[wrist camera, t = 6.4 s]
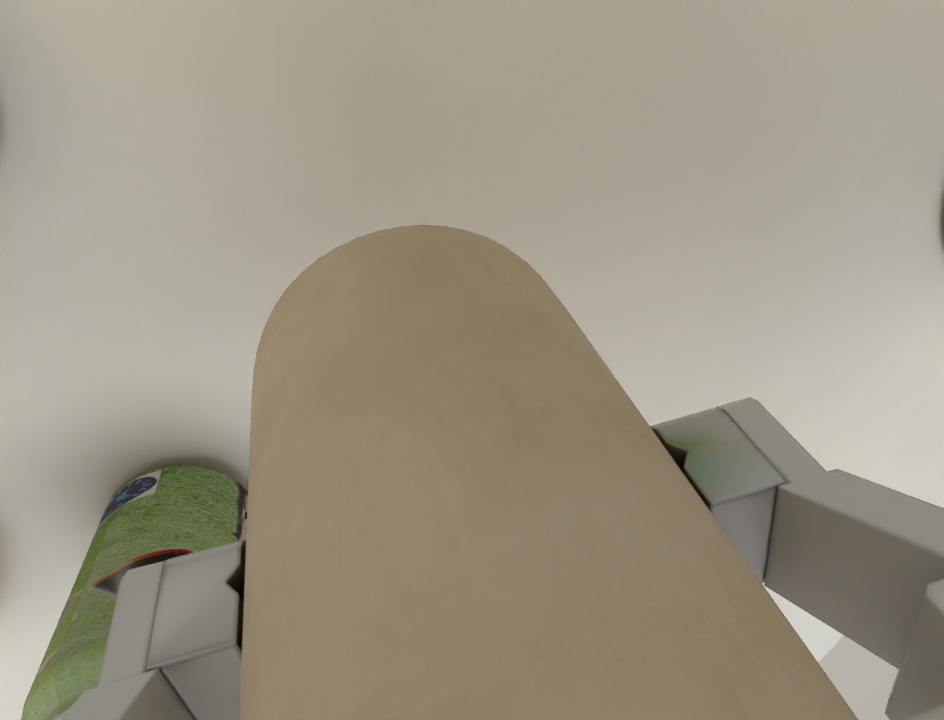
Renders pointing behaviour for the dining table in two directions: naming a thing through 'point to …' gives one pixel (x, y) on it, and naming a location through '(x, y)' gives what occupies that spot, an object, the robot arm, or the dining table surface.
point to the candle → (482, 515)
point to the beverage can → (127, 547)
